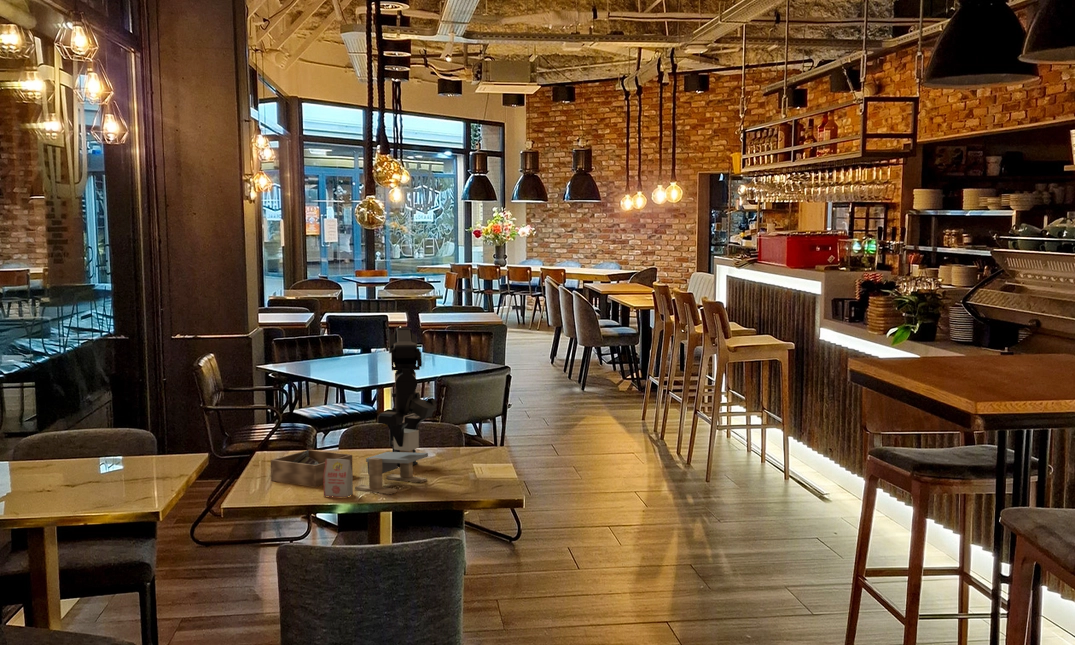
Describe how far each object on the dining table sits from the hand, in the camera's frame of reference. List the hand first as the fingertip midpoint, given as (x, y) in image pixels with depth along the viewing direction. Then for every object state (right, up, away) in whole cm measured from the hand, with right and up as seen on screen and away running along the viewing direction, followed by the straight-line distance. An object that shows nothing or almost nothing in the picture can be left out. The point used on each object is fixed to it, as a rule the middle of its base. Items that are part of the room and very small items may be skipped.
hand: (406, 444), depth 260 cm
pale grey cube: (0, -1, 0) cm, 1 cm away
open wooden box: (-29, -11, +12) cm, 33 cm away
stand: (-4, -12, +3) cm, 13 cm away
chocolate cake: (-32, -12, +13) cm, 37 cm away
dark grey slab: (-2, -8, +2) cm, 8 cm away
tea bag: (-17, -13, -9) cm, 23 cm away
